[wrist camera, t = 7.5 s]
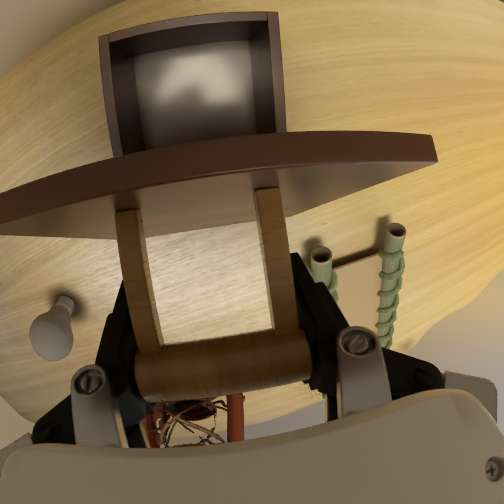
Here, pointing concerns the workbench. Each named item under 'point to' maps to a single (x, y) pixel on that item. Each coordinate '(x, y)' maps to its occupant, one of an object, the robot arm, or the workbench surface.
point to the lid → (206, 216)
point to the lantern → (195, 419)
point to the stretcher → (366, 284)
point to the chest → (193, 80)
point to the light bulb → (53, 331)
